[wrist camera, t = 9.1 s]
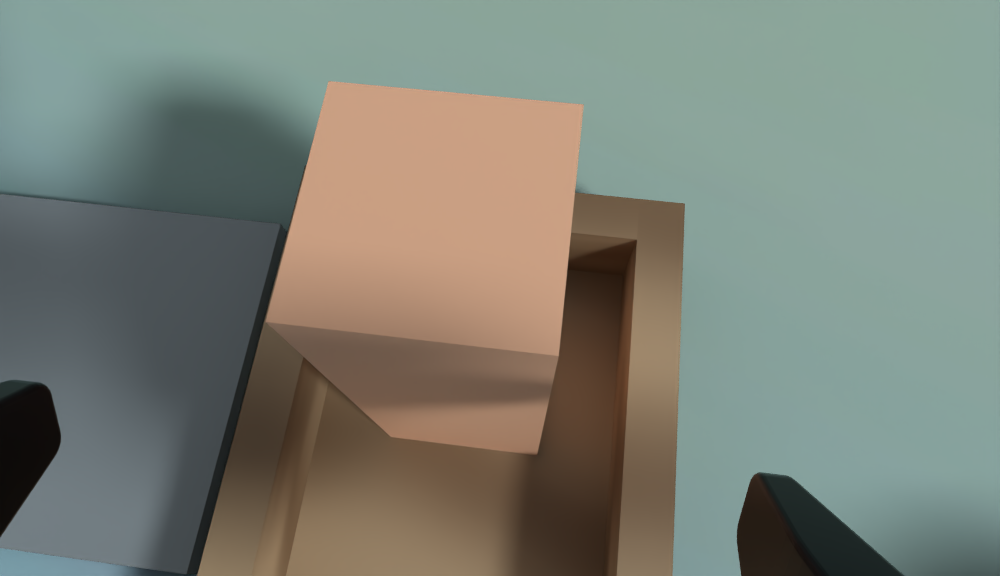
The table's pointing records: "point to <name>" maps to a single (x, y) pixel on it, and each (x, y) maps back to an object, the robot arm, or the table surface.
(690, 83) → the table surface
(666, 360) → the tray
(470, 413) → the block
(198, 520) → the mat
